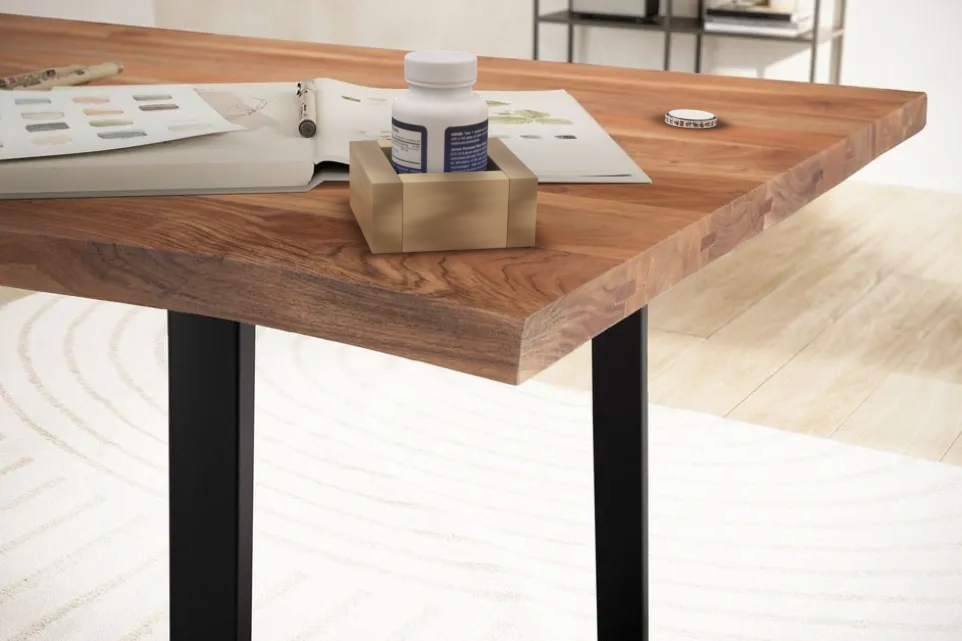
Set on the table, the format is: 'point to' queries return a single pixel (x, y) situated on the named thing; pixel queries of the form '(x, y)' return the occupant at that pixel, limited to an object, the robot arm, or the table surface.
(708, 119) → the washi tape
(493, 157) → the holder
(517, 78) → the table surface
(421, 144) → the pill bottle
